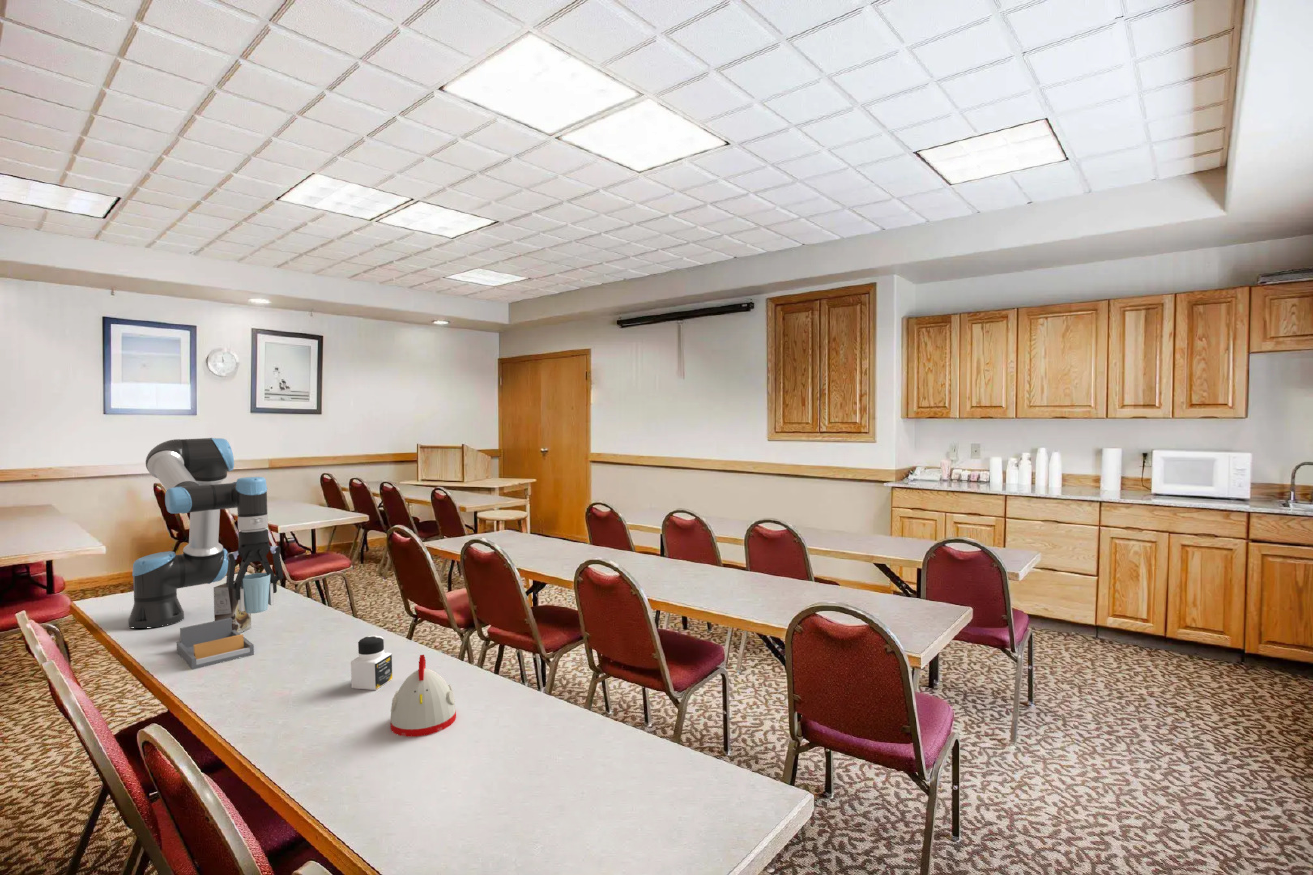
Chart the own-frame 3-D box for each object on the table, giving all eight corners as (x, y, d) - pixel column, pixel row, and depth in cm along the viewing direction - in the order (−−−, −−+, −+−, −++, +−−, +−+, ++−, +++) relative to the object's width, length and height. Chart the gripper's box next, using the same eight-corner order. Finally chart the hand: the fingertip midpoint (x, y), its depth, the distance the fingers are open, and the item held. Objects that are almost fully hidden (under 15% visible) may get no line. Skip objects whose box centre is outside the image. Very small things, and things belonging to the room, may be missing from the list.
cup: (271, 605, 198) (270, 571, 198) (272, 611, 191) (270, 576, 191) (242, 609, 194) (240, 575, 194) (241, 616, 188) (239, 580, 187)
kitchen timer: (386, 741, 139) (384, 671, 138) (394, 713, 152) (392, 649, 151) (455, 731, 142) (453, 663, 142) (456, 704, 156) (455, 642, 155)
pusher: (190, 654, 189) (189, 640, 189) (237, 643, 198) (237, 630, 198) (195, 660, 185) (194, 646, 184) (243, 648, 193) (243, 635, 193)
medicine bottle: (376, 690, 164) (374, 643, 164) (351, 688, 166) (349, 642, 165) (393, 679, 171) (391, 634, 171) (368, 677, 173) (367, 632, 172)
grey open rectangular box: (176, 652, 195) (175, 629, 194) (235, 639, 205) (234, 617, 205) (192, 669, 181) (191, 644, 180) (253, 654, 192) (252, 630, 191)
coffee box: (234, 637, 207) (232, 586, 207) (214, 637, 208) (212, 587, 207) (252, 628, 216) (250, 579, 216) (233, 628, 217) (231, 579, 216)
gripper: (217, 536, 182) (220, 617, 183) (294, 526, 197) (297, 602, 197) (209, 533, 187) (213, 613, 188) (285, 524, 202) (288, 597, 202)
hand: (256, 607), depth 193 cm, fingers closed on cup, 7 cm apart
